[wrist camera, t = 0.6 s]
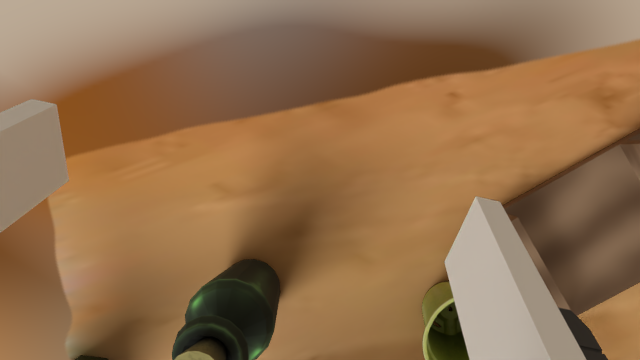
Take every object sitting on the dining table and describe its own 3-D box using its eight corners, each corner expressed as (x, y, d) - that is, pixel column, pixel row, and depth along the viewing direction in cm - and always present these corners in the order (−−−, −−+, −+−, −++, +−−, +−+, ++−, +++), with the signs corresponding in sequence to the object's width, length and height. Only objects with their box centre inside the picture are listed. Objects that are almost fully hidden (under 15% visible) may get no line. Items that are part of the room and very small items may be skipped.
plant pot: (388, 312, 44) (401, 351, 35) (443, 248, 43) (470, 272, 35) (453, 363, 44) (481, 415, 35) (508, 301, 43) (551, 338, 35)
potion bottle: (209, 260, 44) (122, 334, 26) (277, 244, 44) (237, 308, 26) (227, 327, 45) (154, 445, 27) (295, 312, 44) (267, 421, 26)
